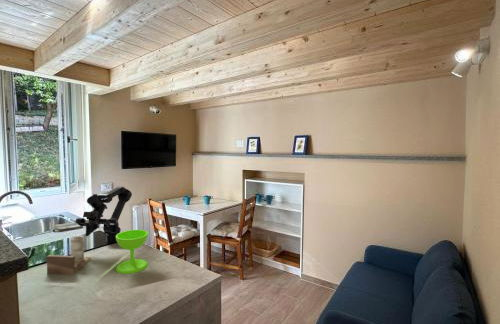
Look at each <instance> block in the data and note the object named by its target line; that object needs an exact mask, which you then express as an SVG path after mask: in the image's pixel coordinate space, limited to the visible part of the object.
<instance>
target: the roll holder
mask: <svg viewBox="0 0 500 324" xmlns="http://www.w3.org/2000/svg"><path fill="white" fill-rule="evenodd" d="M84 265H85V264H84V262H80V263H79V264H77V265H76V266H75V256H71V255H60V254H59V255H55V254H48V255H47V256H46V273H47V274H49V275H69V276H71V275H72V276H73V275H74V274H75V273H77V272H79V271H80V270H81V269H84V267H85V266H84Z"/></svg>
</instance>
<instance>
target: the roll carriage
mask: <svg viewBox="0 0 500 324" xmlns="http://www.w3.org/2000/svg"><path fill="white" fill-rule="evenodd" d="M69 239H70V256H75V266H76V265H77V264H79V263H80V262H84V265H85V264H86V263H88V262H89V261H91V259H92V257H88V256H87V257H86V256H85V243H84V242H85V236H84V235H81V234H80V235H74V236H71V237H70V238H69Z"/></svg>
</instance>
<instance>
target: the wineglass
mask: <svg viewBox="0 0 500 324" xmlns="http://www.w3.org/2000/svg"><path fill="white" fill-rule="evenodd" d="M148 236H149V232H148V231H147V230H144V229H130V230H129V229H128V230H125V231H122V232H121V231H120V233H118V234H117V235H116V241H117V242H116V244H117V245H118V246H119V247H120V248H122V249H124V250H128V251H130V253H129V254H130V255H129V256H130V257H129V260H128V259H127V260H125V261H122V262H120V263H119V264H118V265H116V267H115V271H116V272H117V273H118V274H125V275H130V274H135V273H139V272H141V271H143V270H145V269H146V268H148V264H149V263H148V262H147V260H145V259H140V258H135V250H137V249H139V248H140V247H142V246H143V245H144V244H145V242H146V241H147V239H148Z"/></svg>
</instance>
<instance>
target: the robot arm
mask: <svg viewBox="0 0 500 324" xmlns="http://www.w3.org/2000/svg"><path fill="white" fill-rule="evenodd" d="M132 195H133V193H132V191H130V189H127V188H126V187H125V186H115V187H114V188H113V189H111V190H109V191H108V192H102V193H99V194H97V193H93V194H92V195H90V196H89V197H88V198H87V199H86V202H87V204H88V205H89V206H90V207H91V208H93V210H91V211H83V215H82V217H78V218H76V219H75V221H74V222H76V223H77V224H78V225H79V226H83V227H85V237H89V236H91V234H92V233H94V232H95V231H96V230H97V229H100V228H101V227H100V225H103V233H104V234H106V236H105V242H106V244H108V245H111V244H115V243H116V244H117V241H116V235H117V234H119V233H121V230H122V229H121V227H120V226H119V219H120V218H121V215H122V213H123V210H124V208H125V205H126V203H127V202H129V201H130V200H131V198H132ZM116 196H117V199H118V200H117V203H116V205H115V208H114V210H113V212H112V215H111V216H110V218H104V215H103V214H104V212H105V210H107V209H108V206H107V204H109V203H111V202H112V201H113V198H115V197H116Z"/></svg>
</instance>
